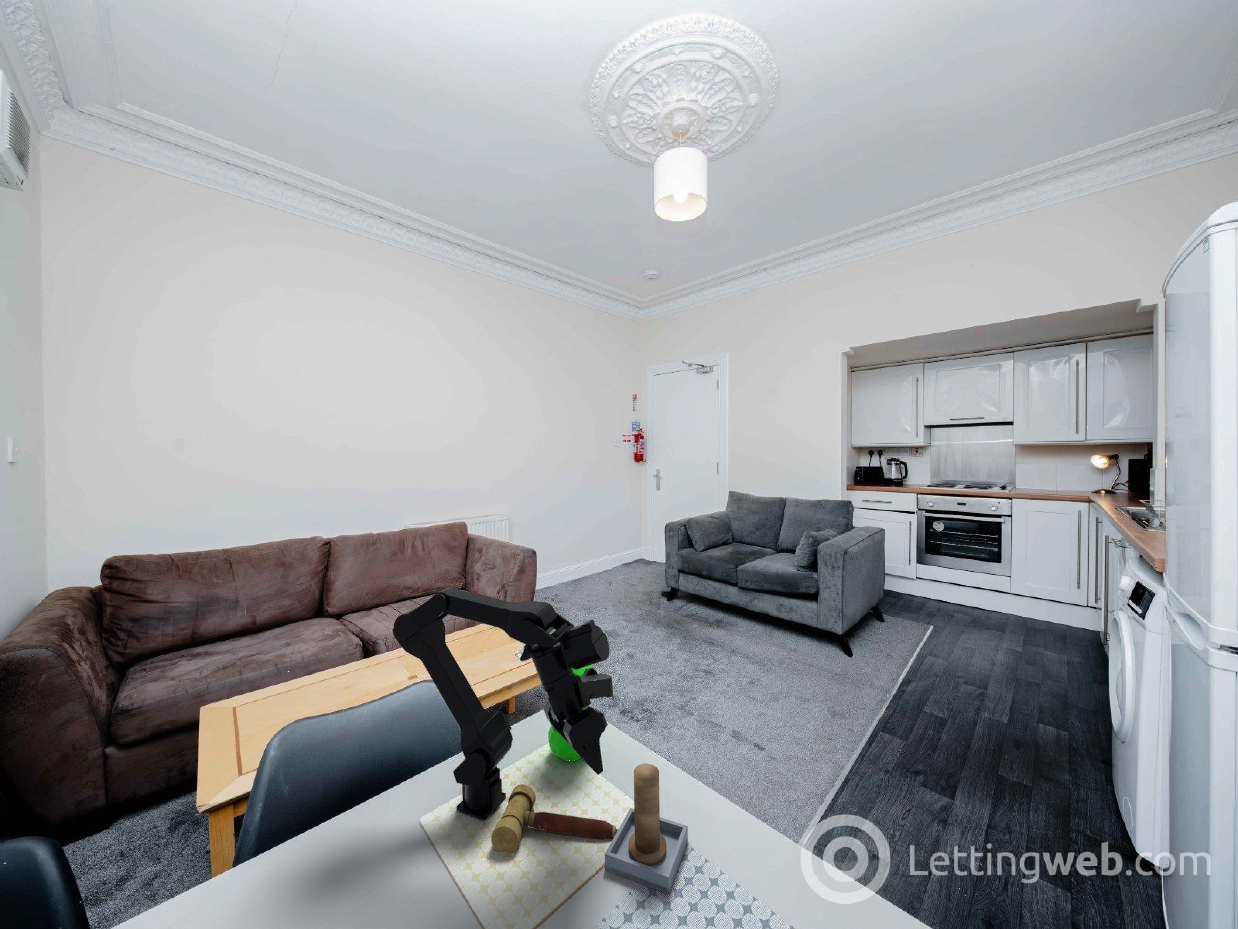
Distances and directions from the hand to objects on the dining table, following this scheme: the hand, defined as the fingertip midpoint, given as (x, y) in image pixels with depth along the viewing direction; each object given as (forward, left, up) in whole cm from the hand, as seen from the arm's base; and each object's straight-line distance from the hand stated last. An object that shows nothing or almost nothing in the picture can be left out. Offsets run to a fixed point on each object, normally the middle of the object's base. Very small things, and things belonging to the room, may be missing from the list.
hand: (591, 763), depth 79 cm
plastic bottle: (-13, +16, -11) cm, 24 cm away
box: (+11, -1, -11) cm, 15 cm away
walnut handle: (+11, -1, -10) cm, 15 cm away
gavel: (-5, -3, -12) cm, 13 cm away
